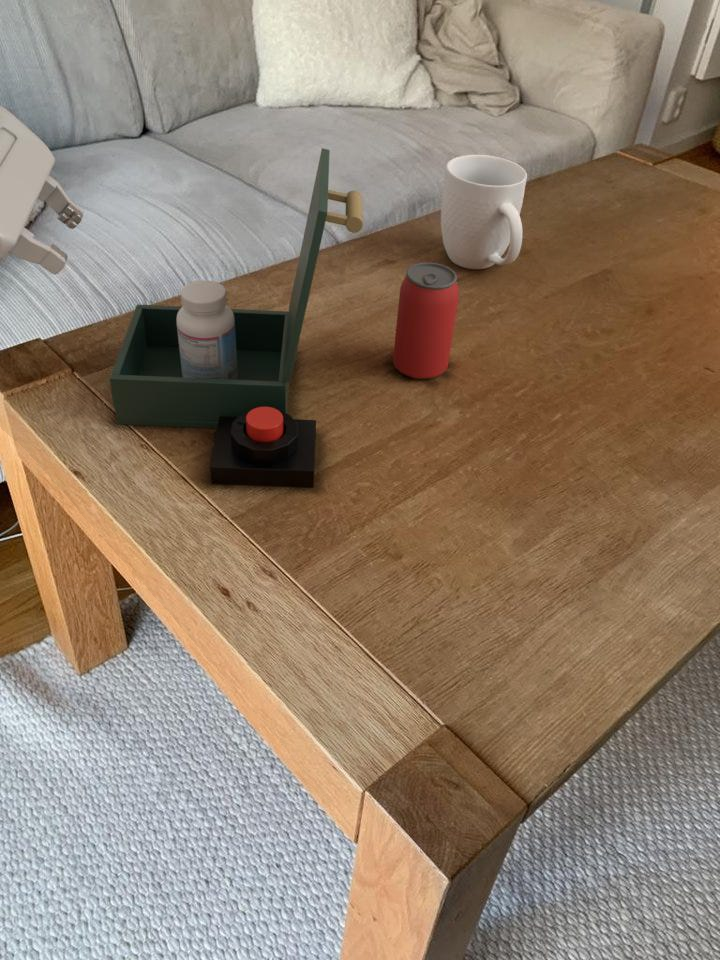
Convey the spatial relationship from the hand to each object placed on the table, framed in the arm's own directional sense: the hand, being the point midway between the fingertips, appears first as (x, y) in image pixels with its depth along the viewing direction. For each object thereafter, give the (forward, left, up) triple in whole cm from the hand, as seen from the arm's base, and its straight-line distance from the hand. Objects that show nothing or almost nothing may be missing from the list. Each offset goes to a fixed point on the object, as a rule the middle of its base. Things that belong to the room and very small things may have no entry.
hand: (71, 243), depth 78 cm
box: (+12, +1, -17) cm, 21 cm away
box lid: (+22, +1, -2) cm, 22 cm away
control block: (+19, -11, -17) cm, 28 cm away
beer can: (+36, +7, -17) cm, 41 cm away
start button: (+19, -11, -14) cm, 26 cm away
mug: (+46, +34, -17) cm, 60 cm away
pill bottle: (+12, +1, -17) cm, 21 cm away
